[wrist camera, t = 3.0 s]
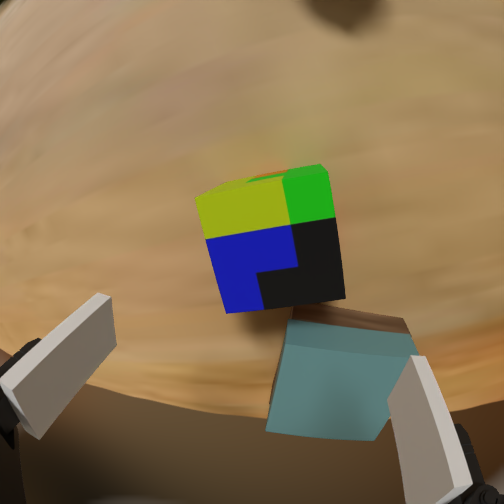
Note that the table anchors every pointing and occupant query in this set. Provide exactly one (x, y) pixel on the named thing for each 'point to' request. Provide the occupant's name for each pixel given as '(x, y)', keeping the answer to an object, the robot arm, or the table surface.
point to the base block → (345, 320)
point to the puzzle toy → (273, 240)
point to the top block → (336, 380)
